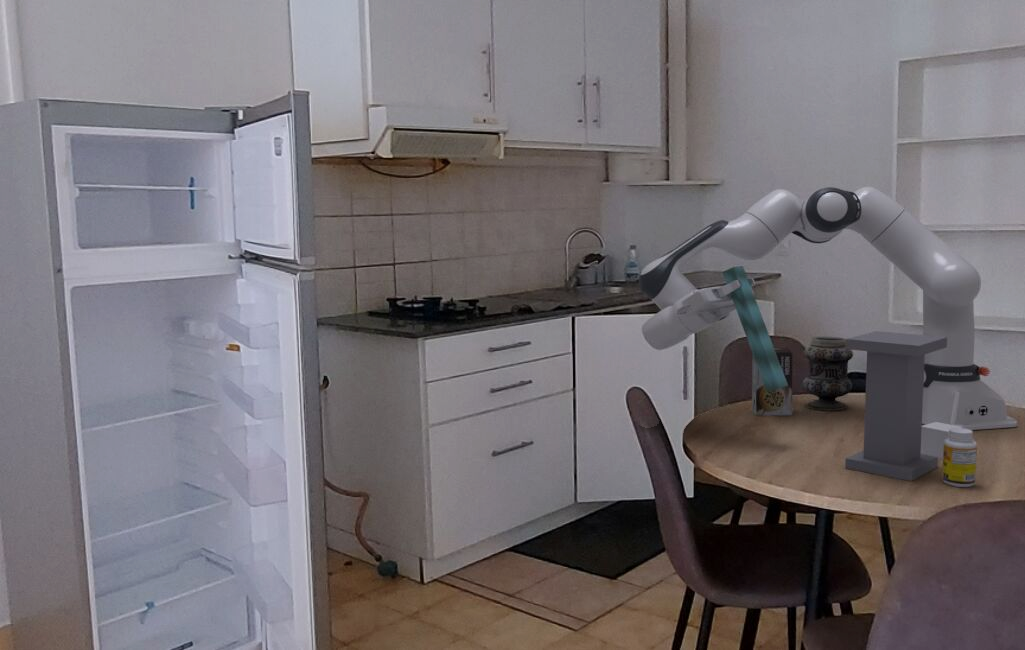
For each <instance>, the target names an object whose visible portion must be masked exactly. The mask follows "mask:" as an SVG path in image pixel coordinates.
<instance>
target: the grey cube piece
mask: <svg viewBox="0 0 1025 650" xmlns="http://www.w3.org/2000/svg"><path fill="white" fill-rule="evenodd" d="M951 428H963V427H960V426H954V425H949V424H944V423H939V422H934V423H930V424H927V425H926V424H922V430H921V453H920V454H924V455H930V456H936V457H938V459H941V460H943V453H944V441H945V439H947V438H949V429H951Z"/></svg>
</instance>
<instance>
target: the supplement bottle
mask: <svg viewBox="0 0 1025 650" xmlns="http://www.w3.org/2000/svg"><path fill="white" fill-rule="evenodd" d="M973 431H974V430H969V429H964V428H951V429H949V438H947V439H945V441H944V453H943V459H942V481H943V483H944V484H946V485H949V486H951V487H958V488H970V487H973V486H974V485H975V484H976V475H977V472H976V471H977V454H978V453H977V449H978V444H977V442H976V441H975V440H974V438H973V437H974V436H973V435H974V433H973Z"/></svg>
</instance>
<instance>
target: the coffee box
mask: <svg viewBox="0 0 1025 650" xmlns="http://www.w3.org/2000/svg"><path fill="white" fill-rule="evenodd" d="M774 350H775V352H776V355H777V357H778V360H779V363H780V365H781V368H782V371H783V373H784V376H785V379H786V381H787V384H788V386H785V387H782V388H779V389H777V390H773V391H770V392H767V391H766V388H765V385H764V382H763V380H762V377H761V374H760V372H759V369H758V366H757V364H756V361H755V358H754V356H753V353H752V352H751V353H752V362H751V363H752V364H751V365H752V366H751V367H752V369H751V370H752V371H751V374H752V375H751V381H752V382H751V411H752V413H753V414H754V415H755V416H756V417H757V416H758V417H759V416H765V417H766V416H793V375H794V374H793V367H794V366H793V363H794V362H793V360H794V359H793V357H794V353H793V352H792V351H791V349H790V348H789V347H785V348H783V347H781V348H777V347H776V348H775V347H774Z"/></svg>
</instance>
